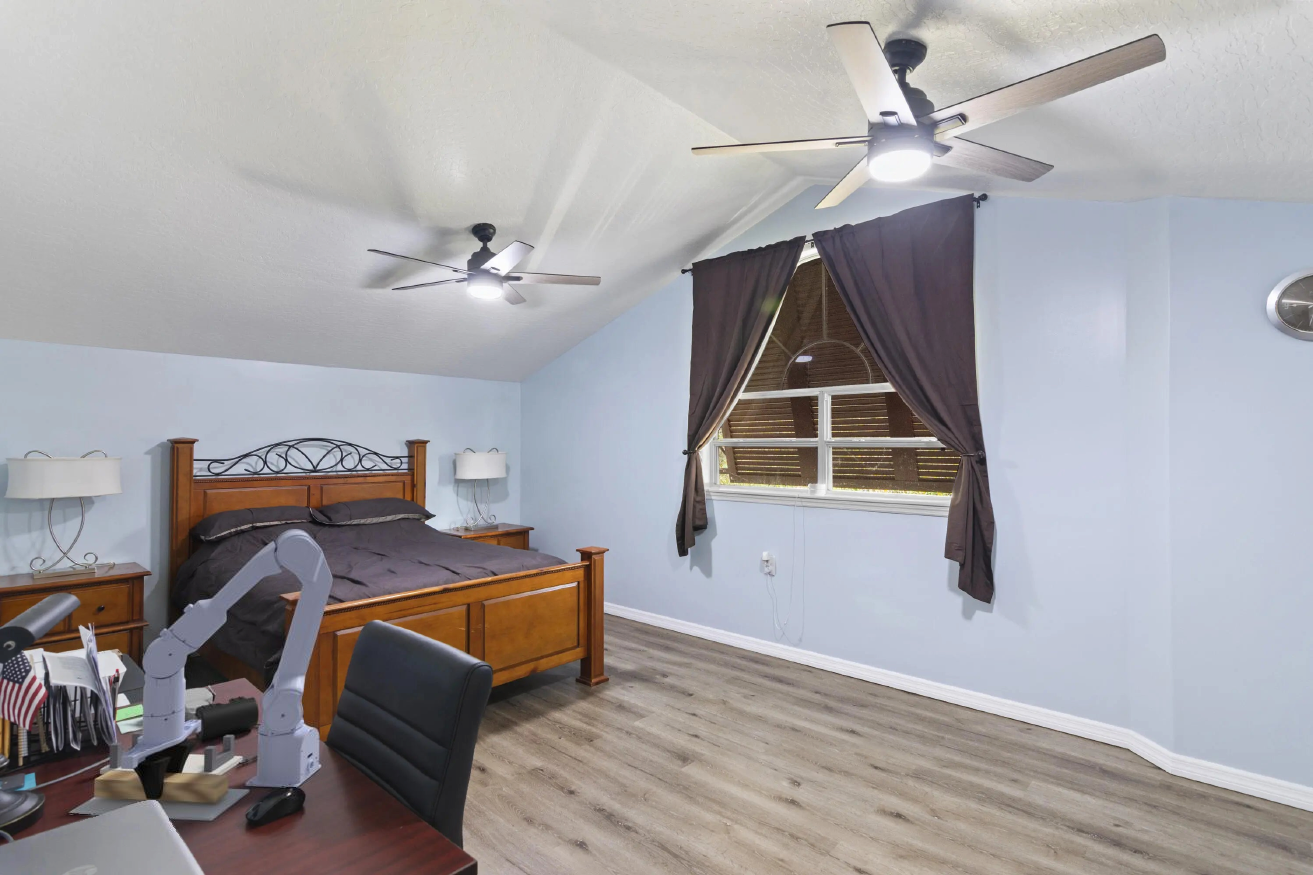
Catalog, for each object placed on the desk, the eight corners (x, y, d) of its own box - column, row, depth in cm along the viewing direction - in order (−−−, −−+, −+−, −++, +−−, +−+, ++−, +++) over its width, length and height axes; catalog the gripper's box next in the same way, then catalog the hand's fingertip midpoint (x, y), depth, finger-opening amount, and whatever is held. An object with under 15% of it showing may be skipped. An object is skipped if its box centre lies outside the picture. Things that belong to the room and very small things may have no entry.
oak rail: (228, 793, 113) (228, 775, 113) (215, 802, 110) (215, 783, 110) (110, 788, 114) (110, 770, 114) (94, 797, 111) (94, 778, 111)
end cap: (202, 748, 132) (203, 714, 132) (192, 738, 137) (192, 704, 137) (258, 732, 140) (259, 700, 140) (246, 723, 144) (247, 691, 144)
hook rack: (242, 760, 127) (243, 733, 127) (216, 778, 120) (216, 750, 120) (132, 756, 128) (133, 729, 129) (99, 773, 121) (100, 745, 122)
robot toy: (234, 721, 147) (207, 700, 156) (235, 701, 147) (208, 681, 156) (168, 740, 138) (144, 717, 147) (169, 719, 138) (145, 696, 147)
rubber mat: (249, 791, 116) (249, 789, 116) (211, 820, 107) (211, 817, 107) (117, 786, 117) (117, 783, 117) (69, 814, 108) (69, 811, 108)
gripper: (175, 693, 120) (173, 770, 119) (103, 727, 105) (101, 814, 105) (213, 695, 119) (211, 772, 119) (146, 728, 105) (143, 816, 104)
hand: (162, 792), depth 112 cm, fingers closed on oak rail, 3 cm apart
